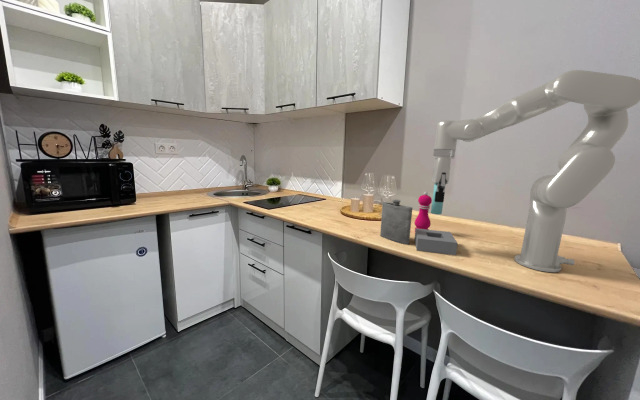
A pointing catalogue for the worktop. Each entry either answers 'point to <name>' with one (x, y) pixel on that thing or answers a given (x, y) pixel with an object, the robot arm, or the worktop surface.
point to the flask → (396, 222)
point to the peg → (436, 203)
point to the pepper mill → (423, 212)
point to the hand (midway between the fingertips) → (437, 200)
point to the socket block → (435, 241)
